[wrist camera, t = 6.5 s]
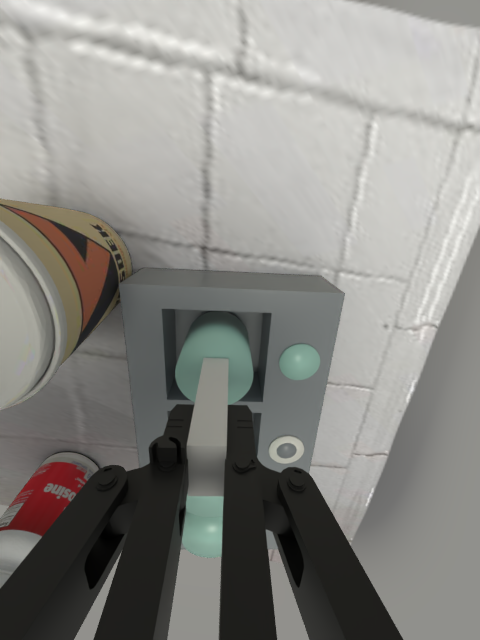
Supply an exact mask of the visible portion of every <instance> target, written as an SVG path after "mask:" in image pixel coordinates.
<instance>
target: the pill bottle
mask: <svg viewBox="0 0 480 640" xmlns="http://www.w3.org/2000/svg"><path fill="white" fill-rule="evenodd" d="M98 470H99V468H98V467H97V465H96V464H95V463H94V462H93V461H91V460H90V459H89V458H87V457H85V456H83V455H80V454H77V453H71V452H64V453H58V454H55V455H52V456H50V457H49V458H47V459H46V460H45V461H44V462H43V463H42V464H41V465H40V467H39V468H38V469H37V471H36V472H35V473H34V475H33V476H32V477H31V478H30V480H29V481H28V482H27V484H26V485H25V486H24V488H23V489H22V490H21V492H20V493H19V494H18V496H17V497H16V498H15V500H14V501H13V502H12V504H11V505H10V506H9V508H8V509H7V510H6V512H5V513H4V514H3V516H2V517H1V518H0V588H1V587H2V586H3V585H4V583H5V582H6V581H7V580H8V578H9V577H10V576H11V575H12V573H13V572H14V571H15V570H16V568H17V567H18V566H19V565H20V563H21V562H22V561H23V560H24V559H25V557H26V556H27V555H28V554H29V552H30V551H31V550H32V549H33V547H34V546H35V545H36V544H37V542H38V541H39V540H40V539H41V538H42V536H43V535H44V534H45V533H46V531H47V530H48V529H49V528H50V526H51V525H52V524H53V523H54V521H55V520H56V519H57V518H58V517H59V515H60V514H61V513H62V512H63V510H64V509H65V508H66V507H67V505H68V504H69V503H70V502H71V500H72V499H73V498H74V497H75V495H76V494H77V493H78V492H79V491H80V489H81V488H82V487H83V486H84V484H85V483H86V482H87V481H88V479H89V478H90V477H91V476H92V475H93V474H94V473H95V472H96V471H98Z"/></svg>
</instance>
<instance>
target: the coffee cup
mask: <svg viewBox="0 0 480 640" xmlns="http://www.w3.org/2000/svg"><path fill="white" fill-rule="evenodd" d="M131 275H132V264H131V259H130V255H129V252H128V250H127V248H126V246H125V244H124V242H123V241H122V239H121V238H120V236H119V235H118V234H117V233H116V232H115V231H114V230H113V229H112V228H111V227H110V226H109V225H108V224H106V223H105V222H104V221H102V220H100V219H99V218H97V217H95V216H92V215H90V214H87V213H84V212H80V211H75V210H70V209H65V208H58V207H52V206H45V205H39V204H32V203H26V202H19V201H12V200H5V199H0V410H3V409H6V408H9V407H12V406H15V405H17V404H20V403H22V402H24V401H25V400H27V399H29V398H30V397H32V396H33V395H35V394H36V393H37V392H39V391H40V390H41V389H42V388H43V387H44V386H45V385H46V384H47V383H48V382H49V381H50V379H51V378H52V377H53V376H54V374H55V373H56V371H57V370H58V368H59V366H60V365H61V364H62V363H63V362H64V361H65V360H66V359H67V358H68V357H69V356H70V355H71V354H72V353H73V352H74V351H75V350H76V349H77V348H78V347H79V345H80V344H81V343H82V342H83V341H84V340H85V339H86V338H87V337H88V336H89V335H90V334H91V333H92V332H93V331H94V329H95V328H96V327H97V326H98V325H99V324H100V323H101V322H102V321H103V320H104V319H105V317H106V316H107V315H108V314H109V313H110V312H111V311H112V310H113V309H114V308H115V307H116V305H117V304H118V303H119V302H120V301H121V300H120V291H119V283H121V282H122V281H124V280H125V279H127V278H128V277H130V276H131Z"/></svg>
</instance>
